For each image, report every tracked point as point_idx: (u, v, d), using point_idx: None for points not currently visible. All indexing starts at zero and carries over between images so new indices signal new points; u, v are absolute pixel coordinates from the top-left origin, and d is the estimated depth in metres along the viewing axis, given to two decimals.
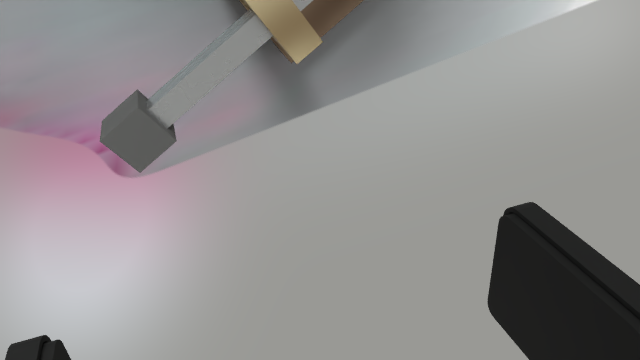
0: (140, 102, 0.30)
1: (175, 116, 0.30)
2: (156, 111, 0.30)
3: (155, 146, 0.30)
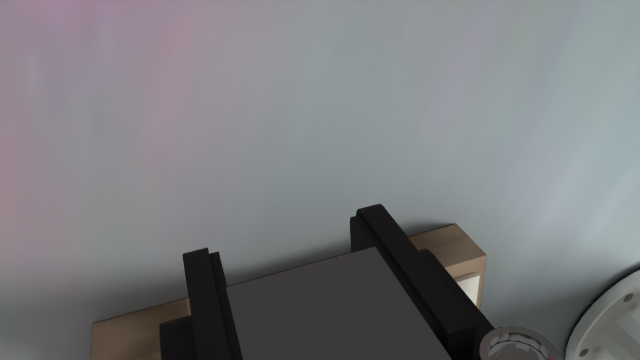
0: None
1: None
2: None
3: None
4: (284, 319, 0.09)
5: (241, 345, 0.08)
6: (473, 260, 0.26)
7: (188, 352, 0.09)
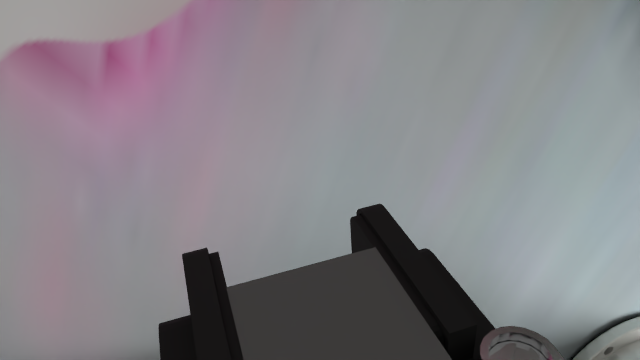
0: None
1: None
2: None
3: None
4: (285, 319, 0.09)
5: (241, 345, 0.08)
6: None
7: (187, 353, 0.09)
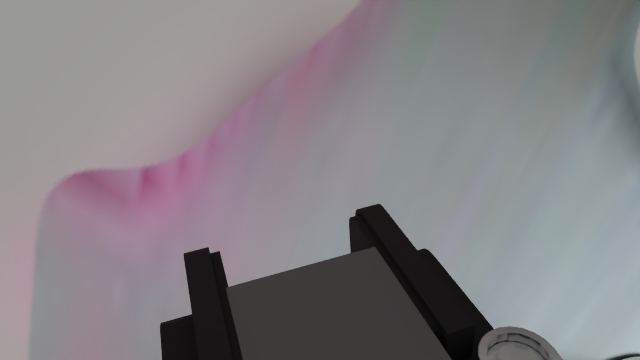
0: None
1: None
2: None
3: None
4: (284, 319, 0.09)
5: (241, 345, 0.08)
6: None
7: (189, 352, 0.09)
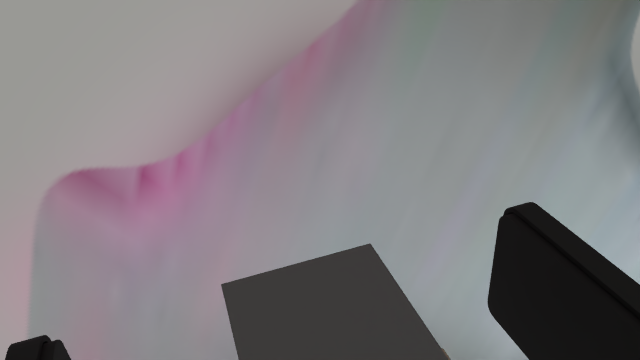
0: None
1: None
2: None
3: None
4: (279, 315, 0.09)
5: (236, 341, 0.08)
6: None
7: None
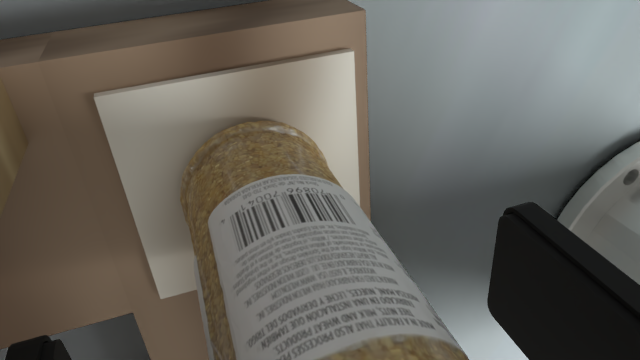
0: None
1: None
2: None
3: None
4: None
5: None
6: (339, 18, 0.14)
7: None
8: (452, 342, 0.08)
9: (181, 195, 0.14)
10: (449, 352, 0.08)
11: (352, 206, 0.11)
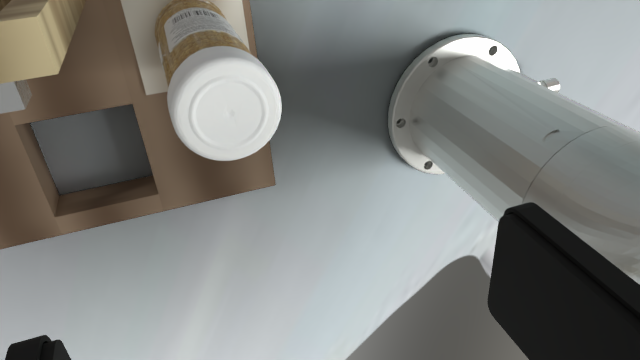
0: None
1: None
2: None
3: None
4: None
5: None
6: None
7: None
8: (240, 40, 0.24)
9: (155, 31, 0.30)
10: (236, 39, 0.24)
11: (223, 19, 0.27)
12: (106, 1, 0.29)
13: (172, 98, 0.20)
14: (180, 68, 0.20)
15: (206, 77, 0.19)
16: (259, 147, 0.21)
